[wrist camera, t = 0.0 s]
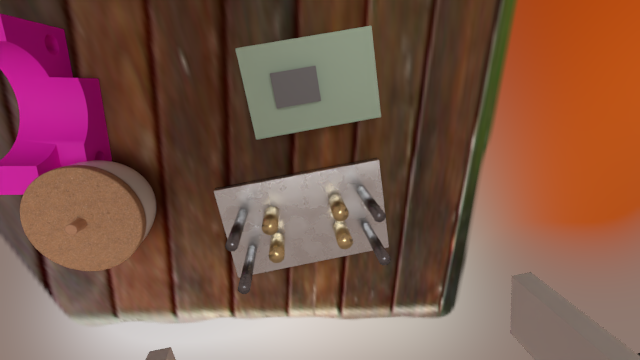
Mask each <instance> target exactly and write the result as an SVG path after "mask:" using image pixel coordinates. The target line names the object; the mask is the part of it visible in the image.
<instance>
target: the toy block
mask: <svg viewBox="0 0 640 360" xmlns="http://www.w3.org/2000/svg"><path fill="white" fill-rule="evenodd" d="M0 69H1V70H2V72H3V73H4V74H5V76H6V77H7V79H8V80H9V82H10V84H11V86H12V88H13V90H14V93H15V95H16V98H17V102H18V106H19V112H20V125H19V132H18V136H17V139H16V141H15V143H14V145H13V147H12V149H11V150H10V151H9V153H8V154H7V155H6V156H5V157H4V158H3V159H1V160H0V195H18V194H24V192H25V190H26V189H27V187H28V186H29V185H30V184H31V183H32V182H33V181H34V180H35V179H36V178H37V177H39V176H40V175H42V174H44V173H46V172H48V171H50V170H53V169H56V168H59V167H63V166H68V165H71V164H75V163H79V162H86V161H93V160H102V161H112V157H111V151H110V145H109V139H108V133H107V127H106V121H105V115H104V108H103V102H102V96H101V90H100V84H99V79H96V78H73V75H72V69H71V64H70V59H69V53H68V48H67V43H66V37H65V32H64V29H61V28H57V27H53V26H49V25H45V24H40V23H36V22H32V21H28V20H24V19H20V18H16V17H12V16H8V15H4V14H0Z"/></svg>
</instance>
